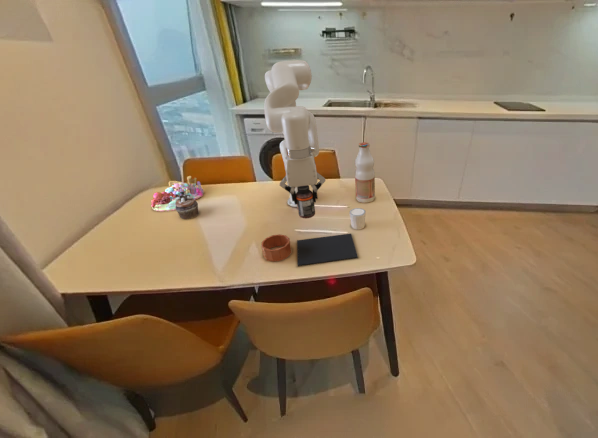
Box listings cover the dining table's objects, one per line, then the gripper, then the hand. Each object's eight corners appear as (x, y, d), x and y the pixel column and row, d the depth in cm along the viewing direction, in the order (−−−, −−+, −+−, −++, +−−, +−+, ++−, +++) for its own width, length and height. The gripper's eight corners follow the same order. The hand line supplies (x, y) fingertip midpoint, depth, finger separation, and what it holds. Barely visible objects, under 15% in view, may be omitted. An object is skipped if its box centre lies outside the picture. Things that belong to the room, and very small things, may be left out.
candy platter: (157, 194, 171) (151, 178, 166) (204, 185, 178) (199, 170, 173) (150, 215, 151) (143, 197, 146) (203, 204, 158) (198, 188, 153)
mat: (297, 241, 127) (297, 240, 127) (351, 234, 130) (351, 233, 130) (297, 266, 114) (297, 265, 113) (357, 258, 117) (357, 256, 116)
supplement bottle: (299, 211, 116) (295, 183, 110) (315, 210, 116) (312, 182, 111) (298, 219, 111) (293, 190, 105) (315, 218, 111) (311, 189, 105)
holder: (264, 246, 125) (262, 236, 122) (291, 243, 126) (289, 233, 124) (262, 263, 116) (260, 252, 114) (291, 259, 117) (289, 248, 115)
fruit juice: (361, 204, 152) (359, 148, 137) (352, 197, 159) (350, 142, 145) (378, 200, 155) (378, 144, 141) (369, 193, 163) (368, 139, 148)
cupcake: (173, 218, 147) (166, 199, 142) (190, 208, 155) (183, 190, 150) (189, 221, 144) (182, 202, 139) (205, 211, 152) (199, 192, 147)
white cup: (364, 230, 132) (364, 216, 129) (348, 229, 134) (347, 215, 130) (367, 222, 138) (367, 208, 134) (352, 221, 139) (351, 207, 136)
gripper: (324, 146, 106) (328, 194, 115) (272, 150, 104) (280, 199, 113) (326, 153, 99) (330, 204, 109) (270, 158, 97) (279, 209, 107)
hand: (305, 201), depth 111 cm, fingers closed on supplement bottle, 6 cm apart
